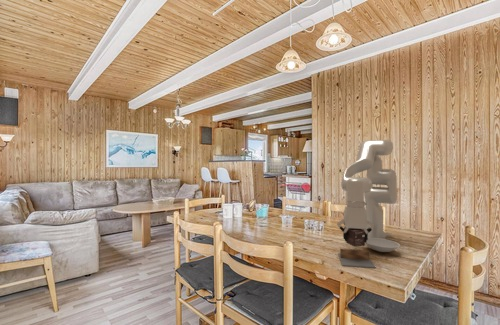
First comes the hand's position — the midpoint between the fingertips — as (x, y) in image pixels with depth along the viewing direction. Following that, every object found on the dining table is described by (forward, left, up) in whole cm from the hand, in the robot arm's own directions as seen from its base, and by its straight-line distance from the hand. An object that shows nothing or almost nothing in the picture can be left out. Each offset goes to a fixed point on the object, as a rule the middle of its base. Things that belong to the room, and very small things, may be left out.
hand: (355, 240), depth 120 cm
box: (0, 0, -2) cm, 2 cm away
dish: (-16, -15, -10) cm, 24 cm away
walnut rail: (0, -2, -10) cm, 10 cm away
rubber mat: (0, 0, -10) cm, 10 cm away
